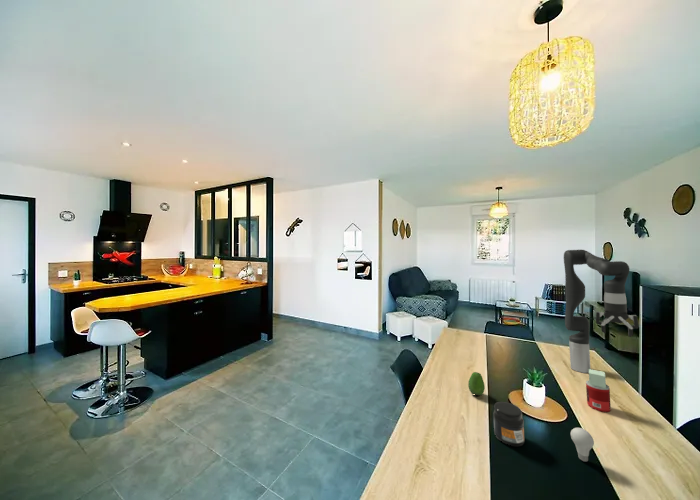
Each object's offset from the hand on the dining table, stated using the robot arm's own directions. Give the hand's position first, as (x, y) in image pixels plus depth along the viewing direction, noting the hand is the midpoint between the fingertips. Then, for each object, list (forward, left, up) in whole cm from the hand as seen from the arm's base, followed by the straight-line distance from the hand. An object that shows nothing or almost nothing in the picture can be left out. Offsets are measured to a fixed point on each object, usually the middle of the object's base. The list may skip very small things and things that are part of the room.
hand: (616, 334), depth 122 cm
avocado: (+37, -55, -33) cm, 74 cm away
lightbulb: (+58, -14, -33) cm, 68 cm away
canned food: (+13, -8, -33) cm, 36 cm away
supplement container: (+62, -36, -33) cm, 79 cm away
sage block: (+13, -8, -22) cm, 26 cm away
